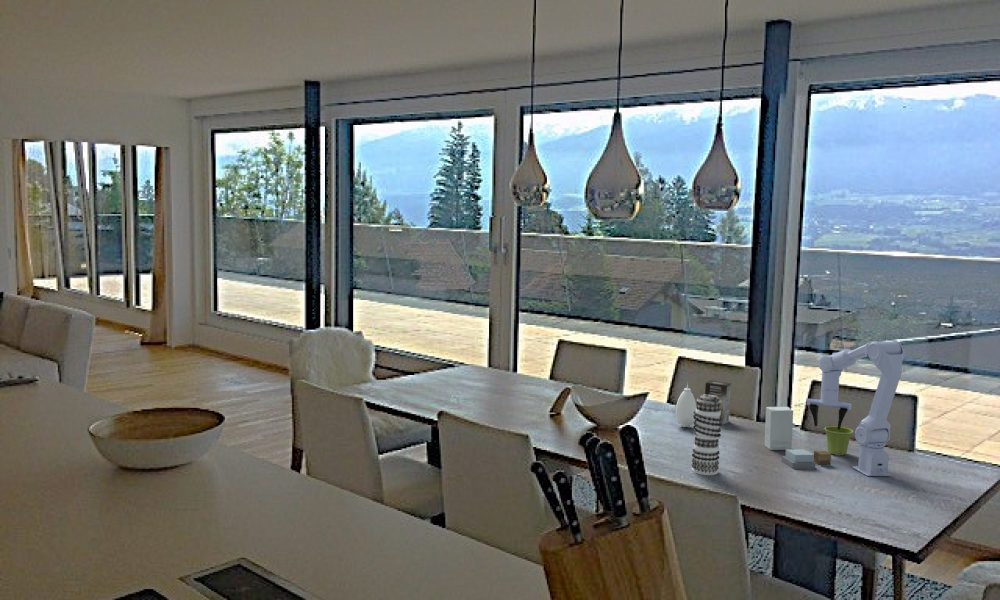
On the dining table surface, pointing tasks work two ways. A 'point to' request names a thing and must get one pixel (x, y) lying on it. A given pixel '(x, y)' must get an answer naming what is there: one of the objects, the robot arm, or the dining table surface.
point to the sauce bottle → (686, 408)
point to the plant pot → (838, 439)
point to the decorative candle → (706, 435)
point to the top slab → (799, 455)
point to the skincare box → (778, 428)
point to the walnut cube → (822, 458)
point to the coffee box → (720, 396)
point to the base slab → (797, 464)
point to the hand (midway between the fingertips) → (827, 427)
